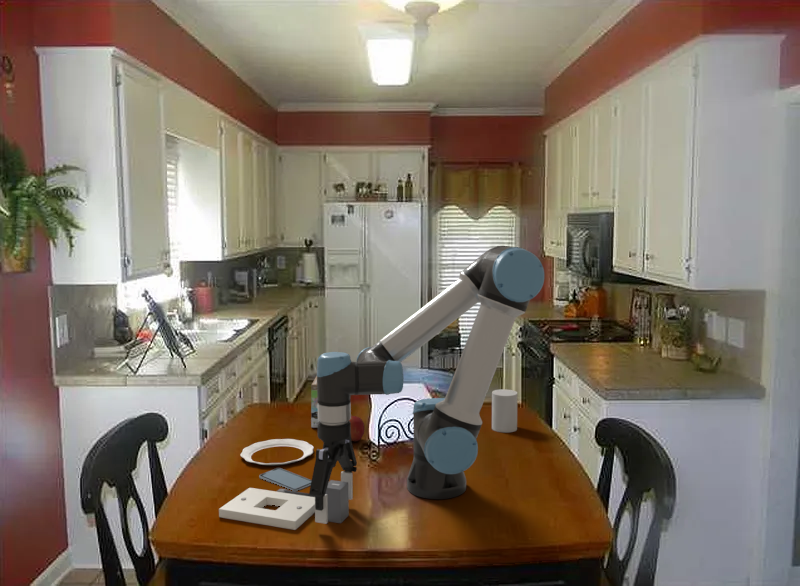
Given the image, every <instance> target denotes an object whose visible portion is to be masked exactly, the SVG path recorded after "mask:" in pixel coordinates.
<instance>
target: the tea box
mask: <svg viewBox="0 0 800 586" xmlns="http://www.w3.org/2000/svg"><path fill="white" fill-rule="evenodd" d="M310 386H311V387H310V388H311V389H310V390H311V391H310V392H311V393H310V394H311V395H310V396H311V398H310V401H311V402H310V405H311V409H310V414H311V415H310V418H311V419H310V422H311V423H310V424H311V425H310V427H311V428H317V429H318V422H319V420H318V409H317V408H316V406H317V405H318V402H317V375H316V376H315V378H314V380H313V382H312V383H311V385H310Z"/></svg>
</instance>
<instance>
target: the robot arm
mask: <svg viewBox="0 0 800 586" xmlns="http://www.w3.org/2000/svg"><path fill="white" fill-rule="evenodd" d="M544 282H545V269H544V266H543V264H542V262H541V261H540V259H539V257H538V256H537V255H535V254H534V253H532V251H529V250H527V249H525V248H522V247H519V246H518V247H517V246H513V247H512V246H509V245H497V246H494V247H491V248H489V249H488V250H486V251H485V252H484V253H482V254H481V255H480V256H479V257H477V258H476V259H475V260H474V261H472V262H471V264H468V266H466V268H464V269H463V270H462V271H460V272H459V277H458V279H457V280H456V281H454V282H453V283H451V285H449V286H448V287H447V288H445V289H444V290H443V291H441V292H440V293H438V295H436V296H435V297H433V298H432V299H431V300H430V301H428V302H427V303H426V304H425V305H424V306H421V308H420V309H418V310H417V311H416V312H414V313H413V314H412V315H411V316H409V317H408V318H407V319H405V320H404V321H403V322H402V323H400V324H399V325H398V326H396V327H395V328H394V329H392V331H390V332H389V333H388V334H387V335H385V336H384V337H382V338H381V339H380V340H379V341H377V342H376V343H374V344H373V345H371V346H369V347H365V348H363V349H362V350H361V351H360V352H358V355H357V357H356V361H352V360H351V355H350V354H349V353H347V352H343V351H342V352H341V351H340V352H339V351H330V352H324V353H322V354H320V355H319V356H318V358H317V364H316V367H317V368H316V376H317V402H318V405H317V406H316V408H317V409H318V420H319V422H318V428H317V438H318V439H319V440H321V441H322V442H323V445H322V449H319V448H317V449H316V451H315V462H314V467H313V471H312V475H311V476H312V477H311V480H312V481H311V485H310V486H309V487H310V488H309V495H312V496H315V513H314V517H315V518H314V522H315V523H319V524H324V525H325V524H328V523H329V521H328V503H327V494H325V493H326V490H327V486H328V483H329V481H330V480H331V479H330V478H331V475H332V471H333V468H335V467H336V465H337V463H339V465H340V467H341V469H342V470H343V471H341V472H340V481H342V482H348V498H349V500H350V501H351V500H353V499H354V498H353V497H354V496H353V493H354V492H353V489H354V488H353V485H354V484H353V483H354V482H353V472H354V473H356V472H357V470H358V469H357V458H356V457H357V456H356V454H355V450H354V446H353V441H351V422H350V421H349V420H350V419H351V416H352V414H351V412H352V410H351V409H352V408H351V407H352V406H351V403H352V402H351V396H359V395H361V396H362V395H366V396H367V395H368V396H369V395H386V396H387V395H388V396H389V395H395V394H400V393H401V392H403V389H404V368H403V367H404V366H403V364H402V362H403V361H405V360H406V359H407V358H408V357H410V356H411V355H412V354H414V353H415V352H416V351H417V350H419V349H420V348H422V347H423V346H424V345H425V344H427V343H428V342H430V340H432V339H433V338H434V337H436V336H437V335H439V333H441V332H442V331H444V330H445V329H446V328H447V327H448V326H450V325H451V324H453V322H455V321H456V320H458V319H459V318H461V316H463V315H464V314H465V313H467V312H468V311H469V310H470V309H471V308H473V307H474V306H476V305H477V304H480V306H479V309H478V311H477V313H476V315H475V319H474V322H473V324H472V326H471V330H470V332H469V334H468V337H467V340H466V342H465V345H464V348H463V350H462V353H461V356H460V358H459V361H458V363H457V365H456V369H455V372H454V374H453V377H452V380H451V382H450V384H449V387H448V390H447V392H446V395H445V397H431V398H430V397H429V398H422V399H419V400H417V401H415V402H414V404H413V410H412V415H413V416H412V417H413V460H412V461H411V462H412V463H411V465H410V469H409V472H408V474H407V479H406V489H407V490H408V492H409V493H411V494H412V495H414V496H416V497H419V498H423V499H429V500H446V499H452V498H456V497H458V496H461V495H462V494H464V493H465V491H467V478H466V474H465V472H464V471H467V470H468V469H469V468H471V466H472V465H473V464H474V463H475V461H476V459H477V457H478V453H479V452H478V451H479V447H478V445H479V444H478V441H477V439H478V435H479V433H480V430H481V428H482V425H483V420H482V418H481V416H480V412H481V409H482V407H483V404H484V402H485V400H486V396H487V394H488V391H489V389H490V386H491V383H492V380H493V377H494V376H495V374H496V373H495V372H496V371H497V369H498V368H497V367H498V365H499V362H500V360H501V357H502V355H503V351H504V350H505V347H506V345H507V342H508V340H509V337H510V335H511V332H512V328H513V327H514V323H515V321H516V319H517V318H518V317H520V316H522V315H524V314H525V313H526V311H527V309H528V306H529V303H530V301H531V300H532V299H534V298H535V297H536V296H537V295H538V294H539V293H540V291H541V290H542V288H543V286H544Z"/></svg>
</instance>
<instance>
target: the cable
mask: <svg viewBox="0 0 800 586" xmlns="http://www.w3.org/2000/svg"><path fill="white" fill-rule="evenodd" d="M276 492H283V493H289V494H296V495H303V496H310V497H315V496H312V495H309V493H308V492H303V491H302V492H300V491H291V490H289V489H286V488H279V489H277V490H276Z"/></svg>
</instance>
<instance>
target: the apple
mask: <svg viewBox="0 0 800 586" xmlns="http://www.w3.org/2000/svg"><path fill="white" fill-rule="evenodd" d="M349 421H350V422H351V442H359V441H360V440H361V439H362V438H363V436H364V434H365V423H364V421H363V419H362V418H361V417H359V416H356V415H351V419H350V420H349Z"/></svg>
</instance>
